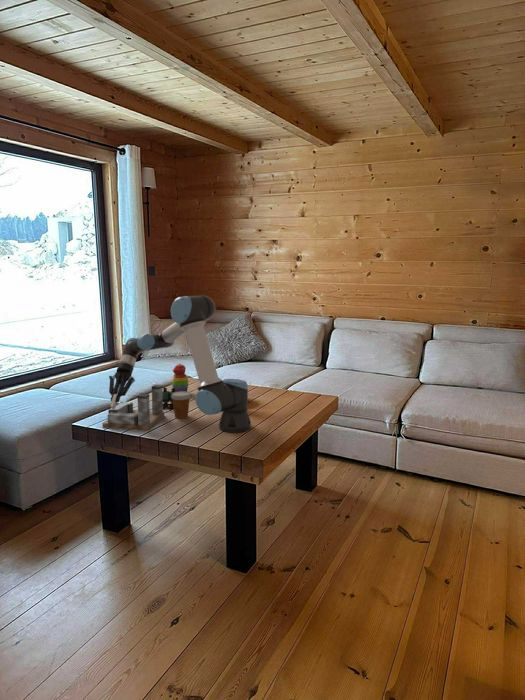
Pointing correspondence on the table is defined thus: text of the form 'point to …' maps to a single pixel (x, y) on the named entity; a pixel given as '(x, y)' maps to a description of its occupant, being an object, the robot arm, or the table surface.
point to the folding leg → (120, 408)
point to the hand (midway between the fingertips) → (112, 407)
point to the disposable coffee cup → (181, 404)
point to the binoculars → (168, 398)
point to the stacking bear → (180, 378)
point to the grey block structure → (139, 412)
